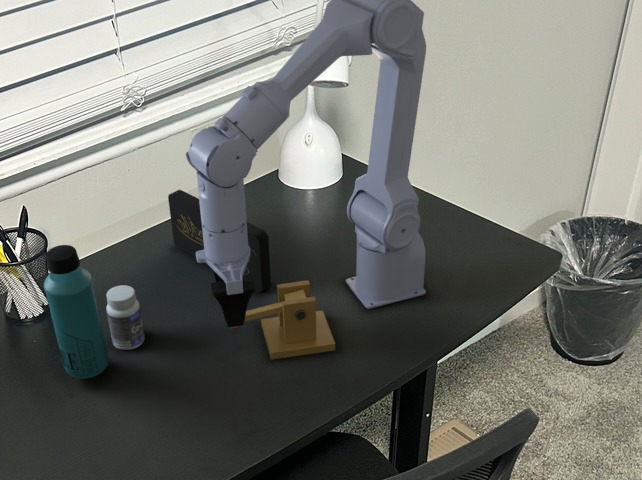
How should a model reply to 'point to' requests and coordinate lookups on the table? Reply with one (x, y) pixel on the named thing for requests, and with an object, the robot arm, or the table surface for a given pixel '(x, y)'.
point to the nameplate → (191, 241)
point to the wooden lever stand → (297, 325)
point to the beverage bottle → (75, 314)
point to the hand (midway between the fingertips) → (231, 308)
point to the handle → (269, 309)
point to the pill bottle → (124, 318)
